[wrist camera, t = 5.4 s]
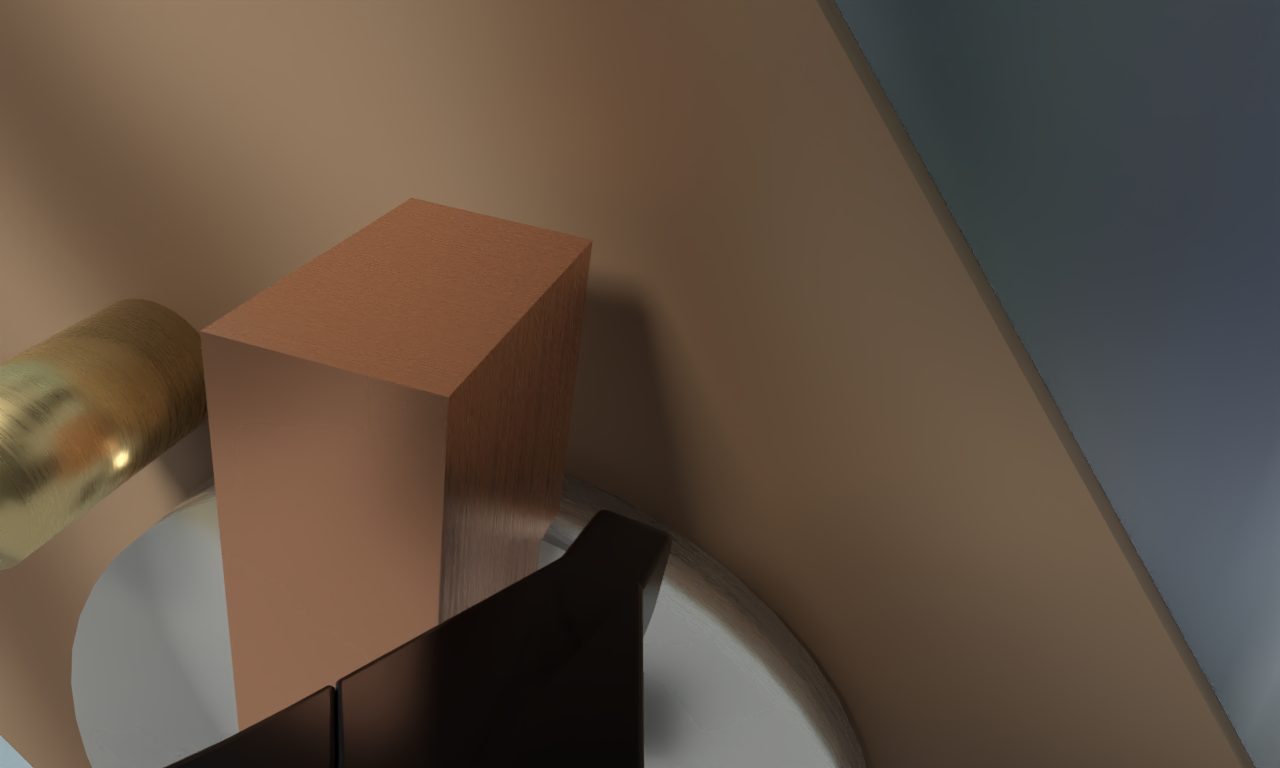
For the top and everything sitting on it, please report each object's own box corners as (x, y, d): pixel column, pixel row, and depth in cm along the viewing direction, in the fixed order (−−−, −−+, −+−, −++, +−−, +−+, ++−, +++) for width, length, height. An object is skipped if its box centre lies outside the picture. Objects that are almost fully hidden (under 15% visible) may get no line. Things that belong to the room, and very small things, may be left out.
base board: (543, -529, 8) (496, -579, 7) (1439, 1102, 14) (1473, 1185, 13) (-277, 367, 16) (-345, 394, 15) (499, 1156, 22) (480, 1208, 21)
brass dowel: (149, 273, 12) (-74, 389, 9) (248, 393, 12) (62, 536, 9) (69, 337, 12) (-155, 459, 10) (163, 447, 13) (-28, 592, 10)
